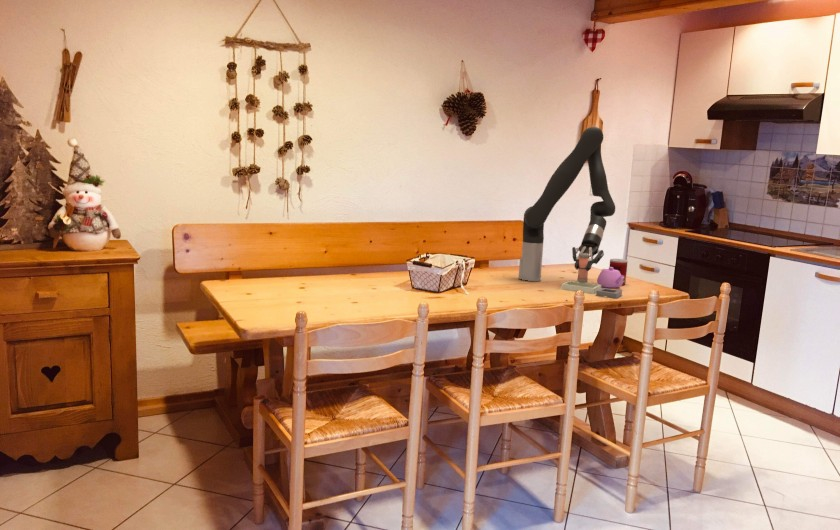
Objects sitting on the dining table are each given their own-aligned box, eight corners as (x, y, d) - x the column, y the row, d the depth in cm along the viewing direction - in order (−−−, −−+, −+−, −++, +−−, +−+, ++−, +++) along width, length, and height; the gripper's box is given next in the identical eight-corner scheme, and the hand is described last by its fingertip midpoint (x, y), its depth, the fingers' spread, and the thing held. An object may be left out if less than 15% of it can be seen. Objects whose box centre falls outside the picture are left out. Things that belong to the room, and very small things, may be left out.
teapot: (609, 284, 317) (611, 264, 315) (631, 291, 303) (633, 270, 302) (590, 285, 313) (592, 264, 311) (611, 292, 299) (613, 270, 298)
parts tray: (561, 290, 298) (561, 283, 297) (569, 287, 306) (569, 280, 306) (593, 295, 291) (594, 288, 290) (600, 292, 299) (601, 285, 299)
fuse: (575, 281, 297) (577, 253, 295) (579, 280, 301) (581, 252, 299) (585, 283, 295) (587, 254, 293) (588, 281, 298) (590, 253, 296)
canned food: (623, 282, 323) (625, 259, 321) (626, 286, 315) (629, 261, 313) (606, 281, 324) (608, 258, 322) (609, 285, 316) (611, 260, 314)
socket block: (593, 297, 286) (594, 291, 286) (601, 293, 295) (602, 287, 295) (616, 301, 282) (616, 294, 281) (623, 296, 291) (623, 290, 290)
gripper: (575, 230, 304) (563, 261, 296) (607, 233, 297) (597, 265, 289) (578, 241, 310) (567, 272, 301) (610, 244, 302) (599, 276, 294)
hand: (581, 268), depth 295 cm, fingers closed on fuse, 4 cm apart
